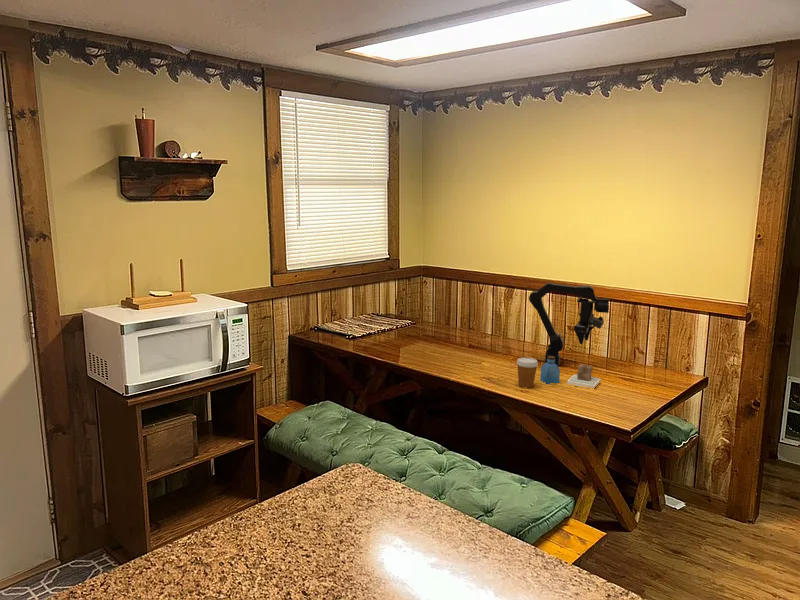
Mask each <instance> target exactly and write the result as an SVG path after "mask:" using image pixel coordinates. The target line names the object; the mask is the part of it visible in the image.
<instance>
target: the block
mask: <svg viewBox="0 0 800 600" xmlns="http://www.w3.org/2000/svg"><path fill="white" fill-rule="evenodd" d="M577 374H578V375H577V379H578V380H584V381H589V380H590V379H591V377H592V374H593V365H589V364H584V363H580V364H579V365H578V366H577Z"/></svg>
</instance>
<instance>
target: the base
mask: <svg viewBox="0 0 800 600" xmlns="http://www.w3.org/2000/svg"><path fill="white" fill-rule="evenodd" d="M577 375H578V373H576V374H573V375H572V376H571V377H569V379H568V380H567V381H566V385H567V384H571V385H576V386H583V387H590V388H595V387H596V385H598V384H599V382H600V383H601V381H602V380H601V378H598V377H596V376H591V379H590V380H589V381H584V380H578V379H577ZM599 385H600V384H599ZM599 385H598V386H599ZM596 388H597V387H596ZM596 388H595V389H596Z"/></svg>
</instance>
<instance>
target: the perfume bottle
mask: <svg viewBox="0 0 800 600" xmlns="http://www.w3.org/2000/svg"><path fill="white" fill-rule="evenodd" d="M554 358H555V357H554V356H548V359H547V362H548V363H545V362H544V363H543V364H542V366H541V367H540V379H539V380H541V382H542V381H543V382H542V383H544V382H545V383H546V384H545V383H544V384H545V385H547V384H548V385H551V384H550V383H559V384H560V376H561V370H560V368H559V365H558V366H557V365H556V364H554V362H555V359H554Z"/></svg>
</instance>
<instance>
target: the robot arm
mask: <svg viewBox="0 0 800 600" xmlns="http://www.w3.org/2000/svg"><path fill="white" fill-rule="evenodd" d="M550 292H553V293H560V294H569V295H575V296H578V297H579V298H578V299H577V300H576V302H577V303H580V307H579V308H580V311H579V313H578V316H579V320H578V321H577V324H576V325H573V331H574V332H575V334H576V337H577V339H578V342H579V344H580V345H583V344H584V341H586V342H587V341H588V340H589V338H590V334H591V332H592V330H593V329H594V328H597V329H601V328H603V325H604V324H605V323H604V322H605V320H604V317H602V316H598V317H596V316H594V315H595V314H594V312H593V310H594V311H595V313H602V314H603V313H604V314H608V313H609V312H610V311H609V309H610V306H609V305H610V299H609V298H598V297H597V296H596V294H595V290H594V287H593V286H592V285H587V284H586V285H568V284H562V283H561V284H560V283H553V282H546V283H545V284H544V285H543V286H542V287H540V288H538V289H537V290H533V291H531V293H530V294H529V296H528V301H529V303H531V305H532V306H533V308H534V309H535V310H536V312H537V314H538V316H539V318H540V320H541V322H542V324H543V326H544V328H545V329H544V330H545V331H546V333H547V334H548V339H549V345H547V347H546V352H545V358H544V363H548V362H547V359H548V356H554V357H555V358H554V359H555V362H554V364H556V365H557V366H558V367H559V366H560V365H561V356H560V354H561V353H560V352H561V351H562V350H563V349H564V340H565V339H563V336H562V334H561V332H560V333H557V331H556V329H555V327H554V325H553V323H552V321H551V319H550V317H549V314H548V312H547V310H546V308H545V305H544V301H543V298H544V297H545V296H546V295H548V294H549V293H550Z"/></svg>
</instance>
